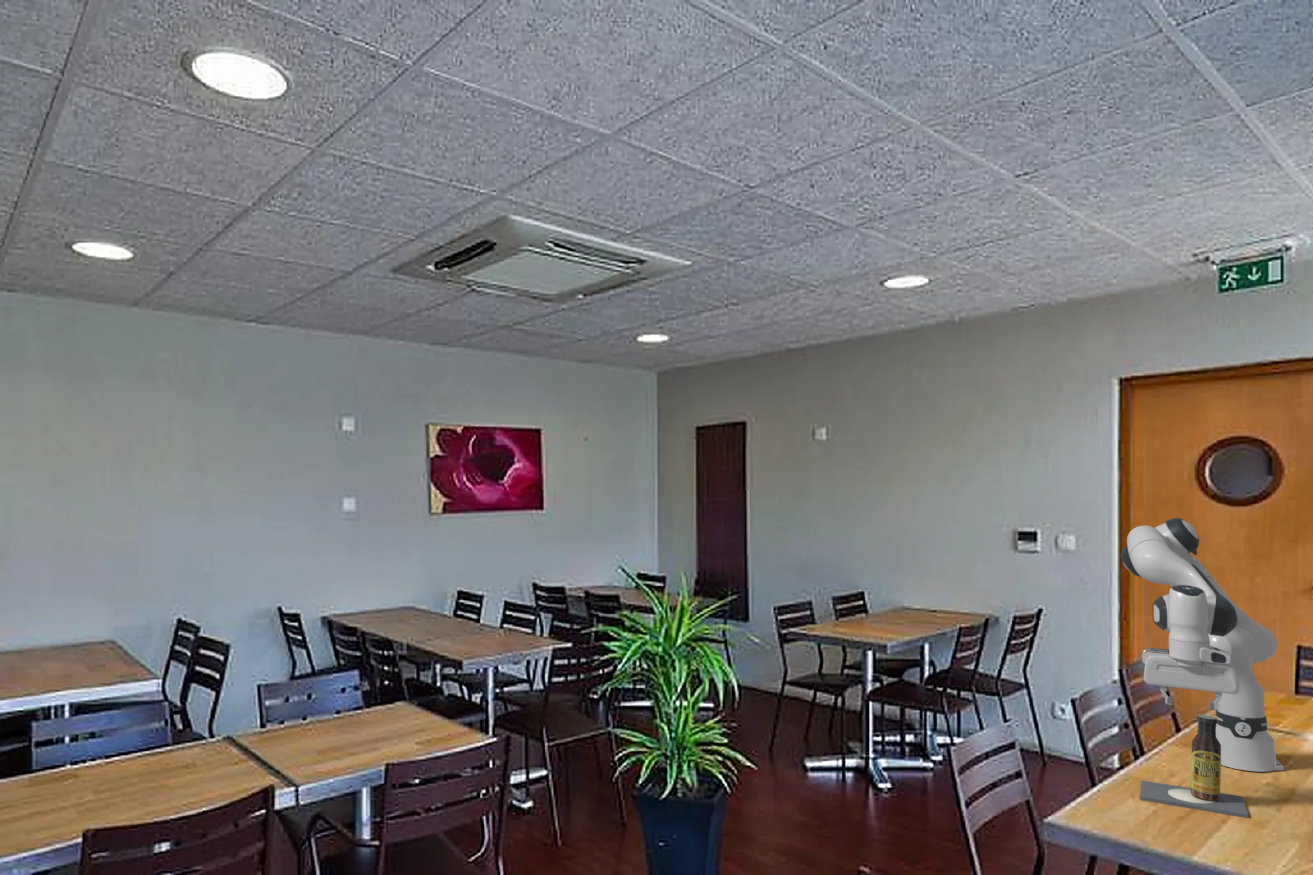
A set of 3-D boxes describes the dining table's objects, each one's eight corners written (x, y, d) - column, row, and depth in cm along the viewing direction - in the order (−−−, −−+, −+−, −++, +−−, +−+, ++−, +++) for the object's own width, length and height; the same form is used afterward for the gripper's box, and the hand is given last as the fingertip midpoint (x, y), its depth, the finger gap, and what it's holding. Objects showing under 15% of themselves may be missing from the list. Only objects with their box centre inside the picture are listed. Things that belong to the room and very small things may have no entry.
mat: (1141, 783, 219) (1140, 779, 219) (1242, 799, 207) (1242, 795, 207) (1140, 799, 207) (1139, 795, 207) (1247, 817, 195) (1247, 813, 195)
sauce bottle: (1191, 799, 205) (1190, 717, 206) (1189, 791, 210) (1187, 711, 211) (1223, 804, 202) (1222, 721, 203) (1220, 796, 207) (1218, 715, 208)
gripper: (1141, 648, 212) (1142, 703, 211) (1239, 658, 201) (1240, 715, 200) (1141, 644, 217) (1142, 698, 216) (1236, 653, 207) (1238, 709, 206)
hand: (1190, 707), depth 208 cm, fingers open, 8 cm apart
